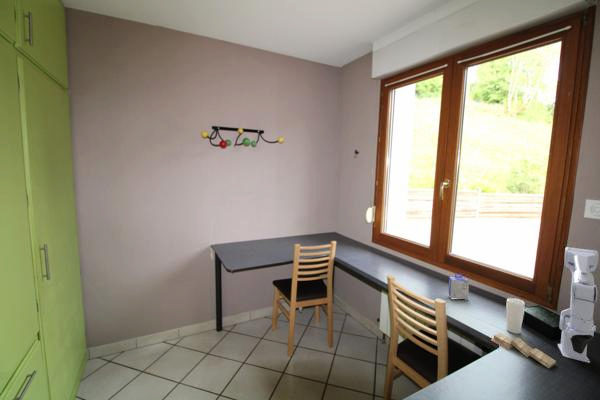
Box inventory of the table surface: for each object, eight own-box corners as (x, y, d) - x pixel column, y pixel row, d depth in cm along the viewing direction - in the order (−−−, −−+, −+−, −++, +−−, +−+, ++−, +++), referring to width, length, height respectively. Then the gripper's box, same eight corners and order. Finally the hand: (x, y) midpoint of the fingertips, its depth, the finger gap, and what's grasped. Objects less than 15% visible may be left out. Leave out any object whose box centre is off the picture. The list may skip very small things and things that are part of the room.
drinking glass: (501, 329, 136) (503, 299, 135) (510, 326, 139) (512, 296, 138) (516, 336, 130) (519, 305, 129) (525, 333, 133) (528, 302, 131)
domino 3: (556, 361, 111) (535, 347, 117) (550, 365, 109) (529, 351, 115) (554, 364, 111) (534, 351, 117) (548, 368, 109) (528, 354, 115)
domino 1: (517, 341, 123) (501, 333, 129) (510, 344, 121) (493, 335, 127) (517, 345, 123) (500, 336, 129) (509, 347, 121) (493, 338, 127)
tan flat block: (535, 351, 117) (518, 337, 123) (529, 354, 115) (512, 340, 121) (533, 354, 118) (516, 339, 123) (527, 357, 116) (510, 342, 121)
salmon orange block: (514, 344, 123) (496, 336, 129) (508, 347, 121) (491, 339, 127) (514, 347, 123) (496, 339, 130) (508, 351, 121) (491, 342, 127)
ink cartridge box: (465, 296, 172) (466, 273, 170) (468, 301, 166) (470, 277, 165) (447, 295, 174) (448, 272, 172) (450, 299, 168) (451, 275, 167)
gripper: (580, 308, 109) (577, 341, 110) (555, 314, 104) (552, 349, 106) (604, 317, 102) (601, 352, 104) (578, 324, 98) (575, 361, 99)
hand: (577, 352), depth 104 cm, fingers closed
